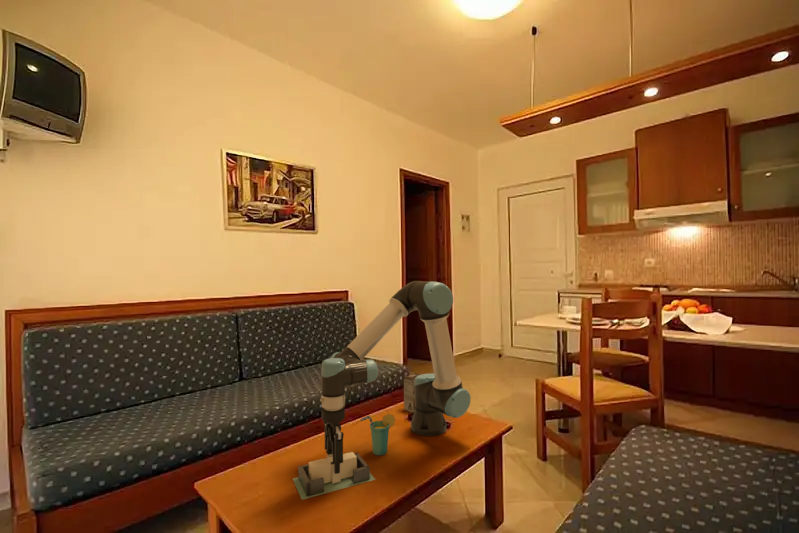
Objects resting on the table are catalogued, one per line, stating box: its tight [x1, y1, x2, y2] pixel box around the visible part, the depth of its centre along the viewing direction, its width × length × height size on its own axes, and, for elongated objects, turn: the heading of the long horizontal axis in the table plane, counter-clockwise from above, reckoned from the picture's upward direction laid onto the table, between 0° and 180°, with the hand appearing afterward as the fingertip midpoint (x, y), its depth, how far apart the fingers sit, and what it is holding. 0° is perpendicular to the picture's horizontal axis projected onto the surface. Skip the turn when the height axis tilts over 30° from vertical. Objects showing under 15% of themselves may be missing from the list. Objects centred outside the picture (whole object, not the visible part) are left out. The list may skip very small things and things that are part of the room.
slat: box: [308, 451, 357, 484], centre depth 129 cm, size 15×4×6 cm, turn 117°
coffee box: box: [403, 372, 422, 413], centre depth 192 cm, size 9×6×16 cm
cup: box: [360, 412, 396, 456], centre depth 147 cm, size 14×8×15 cm, turn 123°
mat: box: [292, 472, 376, 501], centre depth 129 cm, size 24×13×1 cm, turn 117°
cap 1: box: [297, 463, 324, 497], centre depth 126 cm, size 5×11×4 cm, turn 27°
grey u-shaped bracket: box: [350, 452, 371, 484], centre depth 133 cm, size 5×11×4 cm, turn 27°
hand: (333, 477), depth 129 cm, fingers open, 5 cm apart
